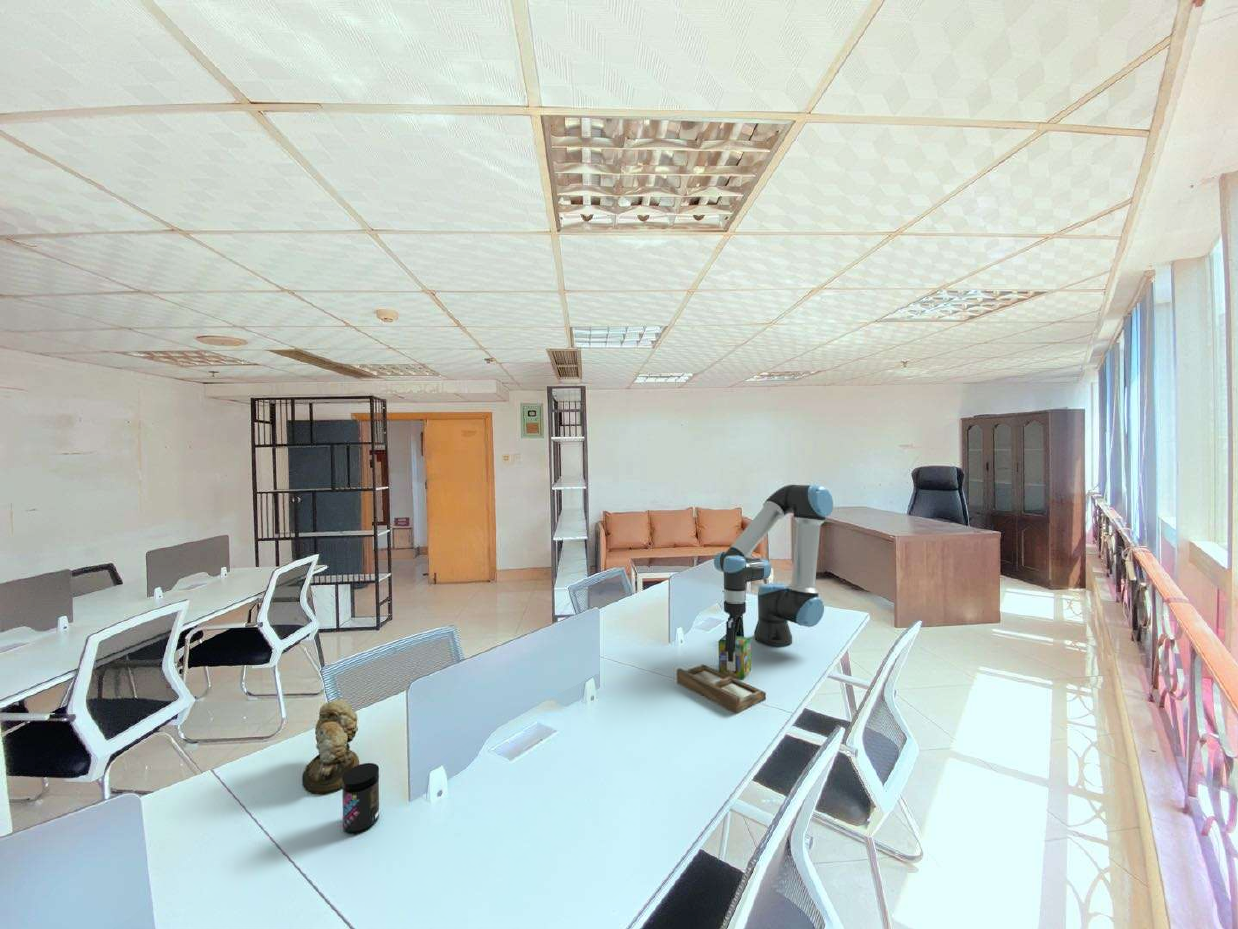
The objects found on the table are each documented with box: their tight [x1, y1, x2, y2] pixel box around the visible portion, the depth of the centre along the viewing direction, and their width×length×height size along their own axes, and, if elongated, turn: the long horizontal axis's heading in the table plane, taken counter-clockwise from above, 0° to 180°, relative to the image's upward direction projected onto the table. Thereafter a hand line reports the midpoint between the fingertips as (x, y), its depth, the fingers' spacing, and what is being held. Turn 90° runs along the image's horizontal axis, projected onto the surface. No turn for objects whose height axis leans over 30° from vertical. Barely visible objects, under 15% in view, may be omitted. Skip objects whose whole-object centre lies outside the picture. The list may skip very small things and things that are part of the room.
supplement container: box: [341, 762, 380, 835], centre depth 99 cm, size 7×7×10 cm
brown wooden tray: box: [676, 664, 767, 715], centre depth 154 cm, size 14×25×4 cm, turn 37°
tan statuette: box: [301, 699, 360, 796], centre depth 115 cm, size 18×12×17 cm, turn 36°
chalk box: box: [717, 634, 752, 680], centre depth 168 cm, size 9×9×15 cm
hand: (735, 664), depth 168 cm, fingers closed on chalk box, 9 cm apart
